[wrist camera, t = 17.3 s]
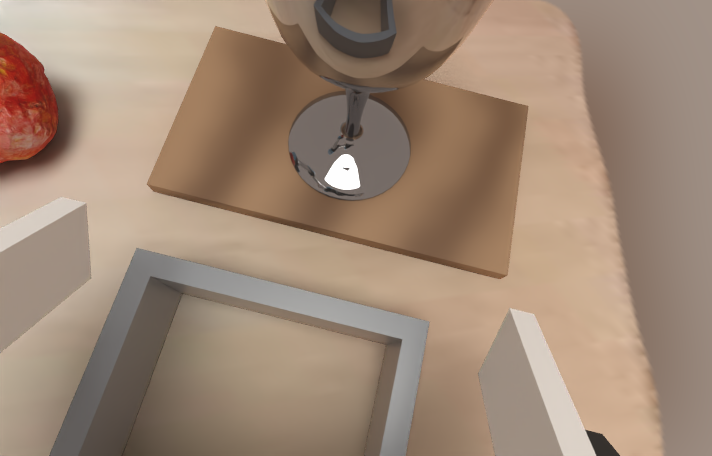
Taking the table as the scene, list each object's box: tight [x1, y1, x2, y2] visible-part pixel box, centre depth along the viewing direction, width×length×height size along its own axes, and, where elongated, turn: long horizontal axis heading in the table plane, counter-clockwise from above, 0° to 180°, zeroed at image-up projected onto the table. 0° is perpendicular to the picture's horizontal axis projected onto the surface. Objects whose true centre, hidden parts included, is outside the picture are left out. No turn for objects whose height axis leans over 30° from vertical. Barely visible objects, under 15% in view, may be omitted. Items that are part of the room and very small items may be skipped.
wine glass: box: [265, 0, 494, 201], centre depth 18 cm, size 8×8×15 cm
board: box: [147, 26, 528, 279], centre depth 25 cm, size 20×11×1 cm, turn 76°
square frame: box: [49, 248, 429, 456], centre depth 19 cm, size 13×13×4 cm
